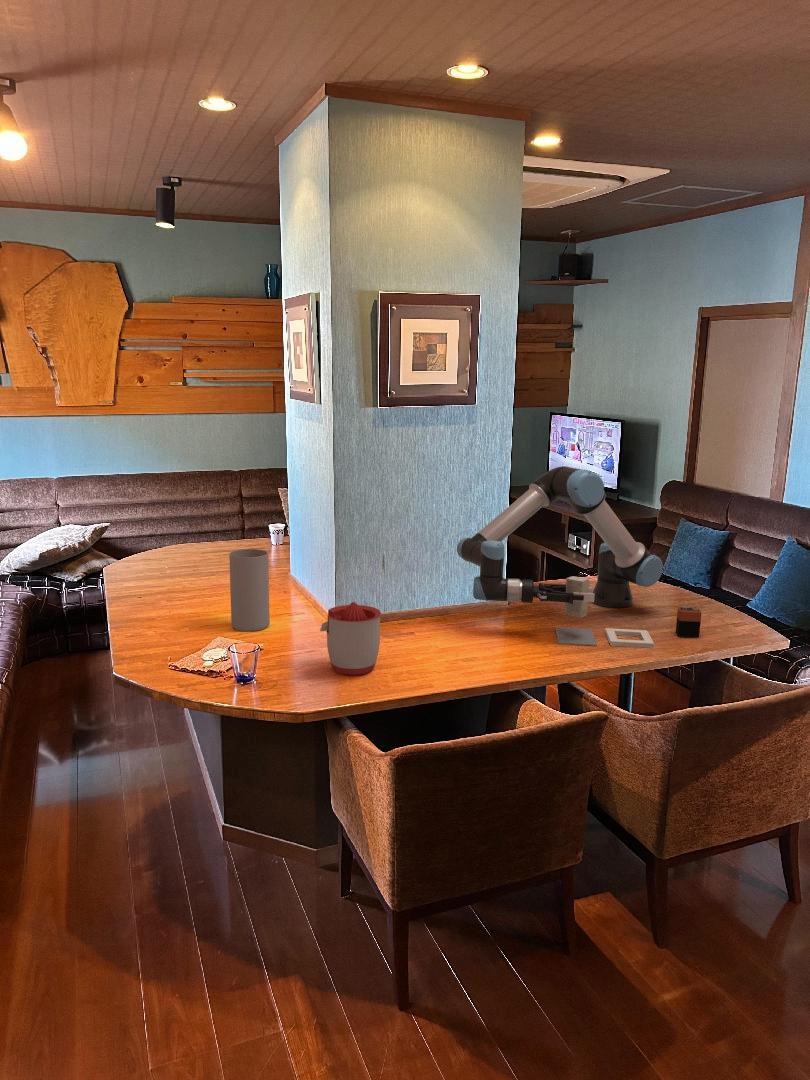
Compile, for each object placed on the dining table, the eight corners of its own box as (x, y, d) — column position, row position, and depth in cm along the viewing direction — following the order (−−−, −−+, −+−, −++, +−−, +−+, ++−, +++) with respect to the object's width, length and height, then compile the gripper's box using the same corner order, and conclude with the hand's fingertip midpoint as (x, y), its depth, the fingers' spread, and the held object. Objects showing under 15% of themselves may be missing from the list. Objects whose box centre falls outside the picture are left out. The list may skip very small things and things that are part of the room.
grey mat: (555, 628, 273) (555, 627, 273) (591, 630, 272) (591, 629, 271) (558, 644, 257) (558, 642, 257) (596, 646, 256) (596, 644, 256)
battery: (675, 633, 270) (677, 604, 268) (696, 634, 270) (698, 605, 268) (678, 637, 266) (680, 608, 264) (699, 638, 266) (702, 609, 263)
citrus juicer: (320, 659, 240) (320, 594, 236) (379, 659, 242) (380, 594, 237) (319, 679, 225) (318, 610, 221) (381, 678, 226) (382, 609, 222)
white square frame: (605, 632, 270) (605, 628, 269) (646, 634, 268) (646, 630, 268) (610, 645, 257) (610, 641, 256) (653, 648, 255) (654, 643, 255)
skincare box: (587, 615, 262) (590, 579, 260) (580, 618, 259) (583, 581, 256) (570, 611, 266) (573, 575, 264) (563, 614, 263) (565, 577, 261)
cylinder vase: (224, 629, 266) (221, 555, 261) (243, 618, 278) (241, 547, 273) (258, 634, 262) (256, 558, 257) (276, 623, 274) (275, 550, 269)
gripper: (519, 593, 274) (589, 597, 271) (520, 610, 254) (595, 614, 252) (520, 572, 272) (590, 576, 269) (522, 587, 253) (597, 591, 250)
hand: (592, 594), depth 261 cm, fingers closed on skincare box, 7 cm apart
